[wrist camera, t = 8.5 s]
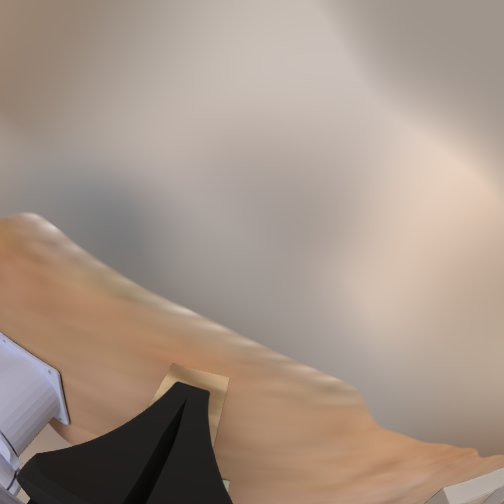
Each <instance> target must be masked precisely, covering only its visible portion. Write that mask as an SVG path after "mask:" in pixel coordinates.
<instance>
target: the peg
mask: <svg viewBox="0 0 504 504" xmlns="http://www.w3.org/2000/svg"><path fill="white" fill-rule="evenodd" d="M177 381H179V382H182V383H185V384H188V385H192V386H195V387H198V388H202V389H205V390H208V391H209V392H210V397H209V406H208V417H209V428H210V436H211V442H212V447H214V443H215V439H216V435H217V430H218V426H219V422H220V417H221V413H222V409H223V404H224V400H225V396H226V391H227V387H228V383H229V378H228V377H224V376H220V375H215V374H211V373H207V372H203V371H200V370H196V369H192V368H188V367H185V366H181V365H178V364H174V363H173V364H172V366H171V368H170V369H169V371H168V373H167V375H166V376H165V378H164V380H163V382H162V384H161V385H160V387H159V389H158V391H157V392H156V394H155V396H154V398H153V400H152V401H151V403H150V405H149V407H150V406H151V405H152V404H153V403H154V402H156V401H157V400H158V399H159V398H160V397H161V396H162V395H164V394H165V393H166V392H167V391H168V390H169V389H170V388H171V387H172V385H173V384H174V383H175V382H177Z"/></svg>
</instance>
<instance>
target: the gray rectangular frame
mask: <svg viewBox="0 0 504 504" xmlns="http://www.w3.org/2000/svg"><path fill="white" fill-rule="evenodd" d="M497 489H498V490H497ZM495 490H496V491H495ZM492 491H495V492H494V493H493V494H492V495H491V496H490V497H489V498H488V499H487V500H485V501H484V502H483V503H482V504H500V503H501V502H502V501H503V500H504V467H503V468H500V469H498V470H496V471H493V472H491V473H488V474H485V475H483V476H480V477H477V478H474V479H471V480H468V481H465V482H462V483H458V484H455V485H451V486H448V487H444V488H442V489H441V490H440V491H439V492H438V493H436V494H435V495H434V496H433V497H432V498H431V499H429V500H428V501H427V502H426V503H425V504H464V503H467V502H469V501H472V500H474V499H477V498H479V497H481V496H484V495H486V494H488V493H490V492H492Z"/></svg>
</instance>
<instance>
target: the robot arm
mask: <svg viewBox="0 0 504 504" xmlns="http://www.w3.org/2000/svg"><path fill="white" fill-rule="evenodd" d="M209 397H210V392H209V391H208V390H205V389H202V388H198V387H195V386H192V385H188V384H185V383H182V382H179V381H177V382H175V383H174V384H173V385H172V387H171V388H170V389H169V390H168V391H167V392H166V393H165V394H164V395H162V396H161V397H160V398H159V399H158V400H157V401H156V402H154V403H153V404H152V405H151V406H150V407H148V408H147V409H146V410H145V411H143V412H142V413H140V414H139V415H137V416H136V417H135V418H133V419H132V420H130V421H129V422H127V423H125V424H124V425H122V426H120V427H119V428H117V429H115V430H113V431H111V432H109V433H107V434H105V435H103V436H100V437H98V438H96V439H93V440H91V441H88V442H85V443H82V444H79V445H75V446H72V447H69V448H65V449H60V450H56V451H49V452H44V453H37V454H35V455H34V456H33V457H32V458H31V459H30V460H29V461H28V462H27V463H26V464H25V465H24V467H23V468H22V469H21V470H20V469H19V467H20V465H21V464H22V462H21V461H20V460H19V458H18V457H19V456H20V455H21V454H22V453H23V451H24V450H25V449H26V448H27V446H28V445H29V444H30V443H31V442H32V440H34V438H35V437H36V436H37V435H38V434H39V432H40V431H41V430H42V429H43V428H44V427H45V426H46V424H47V423H48V422H49V421H50V420H51V419H52V418H53V417H54V418H56V419H57V420H59V421H60V422H62V423H64V424H66V425H68V424H69V423H70V422H69V418H68V413H67V409H66V405H65V400H64V395H63V390H62V385H61V379H60V374H59V372H58V371H57V370H56V369H54V368H52V367H51V366H49V365H47V364H46V363H44V362H43V361H41V360H39V359H38V358H36V357H35V356H33V355H32V354H30V353H29V352H27V351H26V350H24V349H23V348H21V347H20V346H18V345H17V344H16V343H14V342H13V341H11V340H10V339H9V338H7V337H6V336H5V335H3V334H2V333H1V332H0V504H24V503H23V502H22V501H20V500H19V499H18V498H17V497H16V496H17V495H18V493H19V491H20V489H21V487H22V489H23V490H24V491H25V492H26V494H27V495H28V496H29V497H30V500H29V502H28V503H27V504H233V503H232V501H231V498H230V496H229V494H228V492H227V490H226V488H225V485H224V483H223V480H222V478H221V475H220V472H219V469H218V466H217V463H216V459H215V455H214V451H213V447H212V442H211V436H210V428H209V417H208V406H209Z"/></svg>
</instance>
